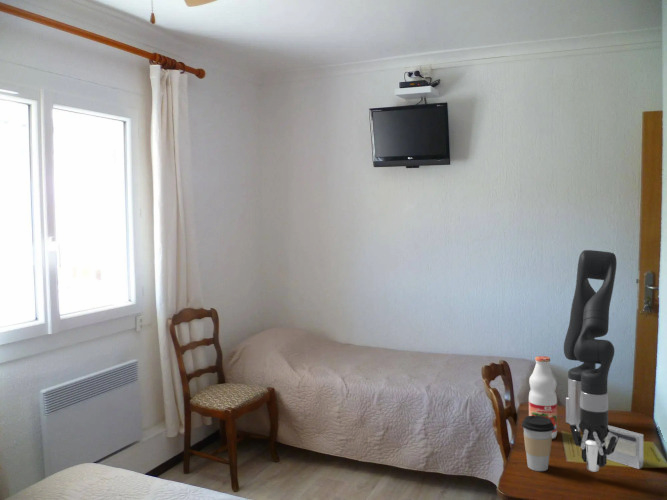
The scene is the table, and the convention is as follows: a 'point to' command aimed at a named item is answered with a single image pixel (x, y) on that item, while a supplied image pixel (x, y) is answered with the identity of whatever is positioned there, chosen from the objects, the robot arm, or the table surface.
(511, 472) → the table surface
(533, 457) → the coffee cup
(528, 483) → the table surface
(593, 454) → the milkshake
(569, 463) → the table surface
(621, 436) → the panel
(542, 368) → the fruit juice
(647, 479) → the table surface
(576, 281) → the robot arm
